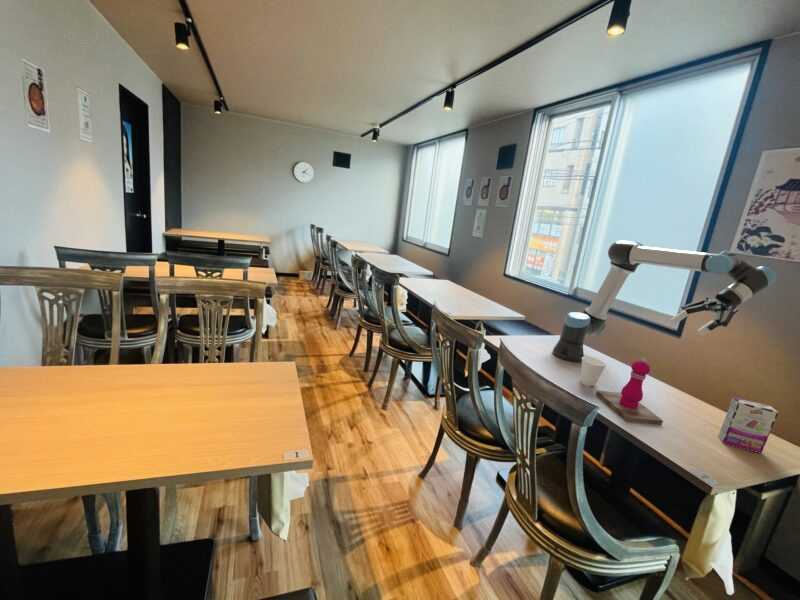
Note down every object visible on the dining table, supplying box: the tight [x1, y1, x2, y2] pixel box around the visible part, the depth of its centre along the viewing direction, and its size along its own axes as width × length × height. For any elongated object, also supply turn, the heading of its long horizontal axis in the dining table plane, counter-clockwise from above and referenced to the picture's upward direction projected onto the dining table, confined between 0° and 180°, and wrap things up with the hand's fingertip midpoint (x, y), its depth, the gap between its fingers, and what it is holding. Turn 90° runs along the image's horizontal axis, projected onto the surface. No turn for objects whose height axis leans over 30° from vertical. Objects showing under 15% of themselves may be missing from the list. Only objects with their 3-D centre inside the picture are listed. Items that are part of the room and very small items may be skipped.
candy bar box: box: [717, 396, 780, 454], centre depth 129 cm, size 11×5×16 cm, turn 68°
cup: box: [579, 356, 607, 387], centre depth 163 cm, size 10×10×11 cm
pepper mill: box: [620, 357, 651, 409], centre depth 143 cm, size 7×7×20 cm
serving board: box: [595, 389, 664, 426], centre depth 145 cm, size 20×14×2 cm
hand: (685, 327), depth 149 cm, fingers open, 13 cm apart
